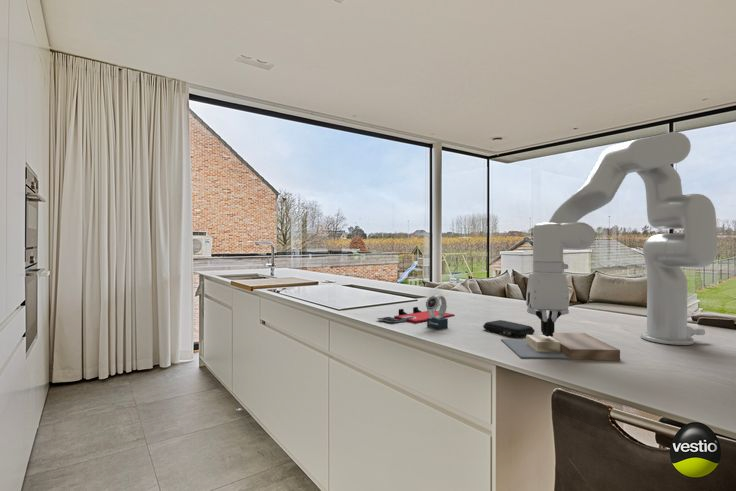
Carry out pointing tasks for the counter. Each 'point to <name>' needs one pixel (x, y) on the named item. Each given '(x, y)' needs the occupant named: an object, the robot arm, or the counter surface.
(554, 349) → the birch tile
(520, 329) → the carrying case or bag
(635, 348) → the counter surface
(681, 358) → the counter surface
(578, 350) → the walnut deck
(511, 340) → the rubber mat
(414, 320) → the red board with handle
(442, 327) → the watch
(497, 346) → the counter surface
